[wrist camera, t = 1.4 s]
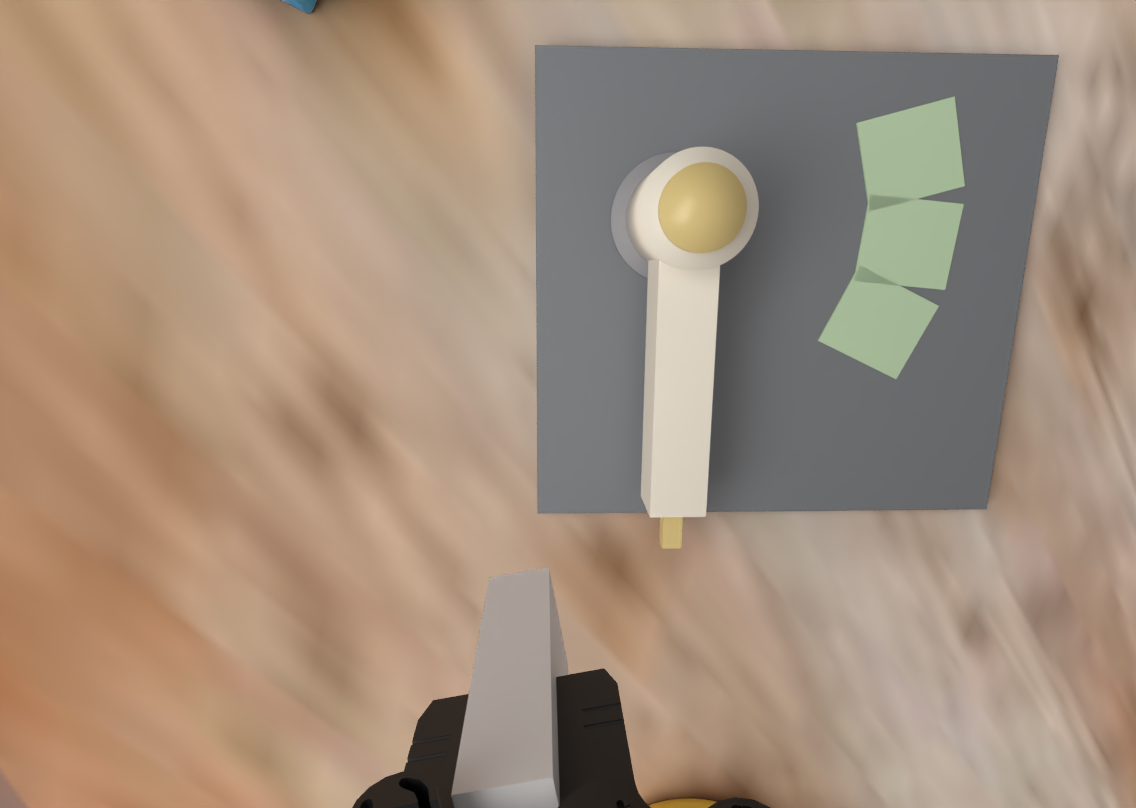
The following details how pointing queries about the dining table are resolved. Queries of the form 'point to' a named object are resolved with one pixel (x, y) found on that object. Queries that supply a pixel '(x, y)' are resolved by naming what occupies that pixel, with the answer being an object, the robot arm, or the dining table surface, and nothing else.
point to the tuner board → (793, 269)
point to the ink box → (302, 4)
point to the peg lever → (684, 317)
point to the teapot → (683, 803)
